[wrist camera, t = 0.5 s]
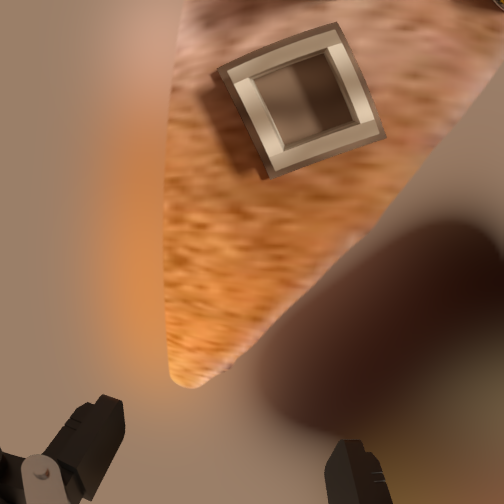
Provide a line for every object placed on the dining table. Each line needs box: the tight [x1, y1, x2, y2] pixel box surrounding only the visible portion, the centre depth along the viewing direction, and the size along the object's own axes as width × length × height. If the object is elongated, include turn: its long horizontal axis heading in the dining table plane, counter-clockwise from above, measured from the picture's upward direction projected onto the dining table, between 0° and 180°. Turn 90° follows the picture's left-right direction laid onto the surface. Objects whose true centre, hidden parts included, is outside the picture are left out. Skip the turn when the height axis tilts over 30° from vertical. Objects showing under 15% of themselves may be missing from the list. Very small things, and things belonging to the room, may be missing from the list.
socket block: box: [217, 22, 387, 180], centre depth 27 cm, size 14×14×5 cm
